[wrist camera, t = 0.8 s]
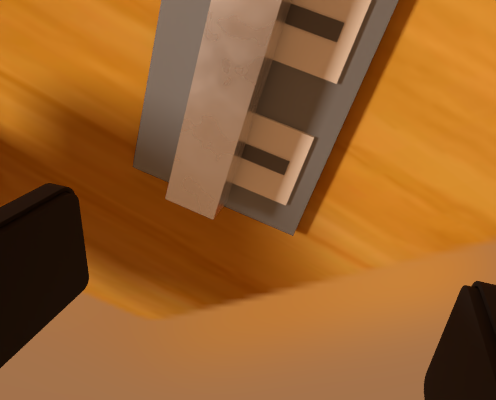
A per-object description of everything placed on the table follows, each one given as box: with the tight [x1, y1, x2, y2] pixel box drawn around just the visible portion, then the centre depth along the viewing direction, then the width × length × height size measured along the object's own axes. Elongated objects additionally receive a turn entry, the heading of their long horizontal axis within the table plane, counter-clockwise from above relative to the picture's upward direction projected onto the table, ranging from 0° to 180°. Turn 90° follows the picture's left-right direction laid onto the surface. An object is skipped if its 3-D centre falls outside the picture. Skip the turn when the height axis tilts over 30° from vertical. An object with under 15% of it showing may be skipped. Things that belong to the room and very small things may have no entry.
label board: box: [133, 0, 398, 236], centre depth 27 cm, size 15×26×1 cm, turn 162°
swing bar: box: [165, 0, 292, 219], centre depth 25 cm, size 4×24×4 cm, turn 162°
